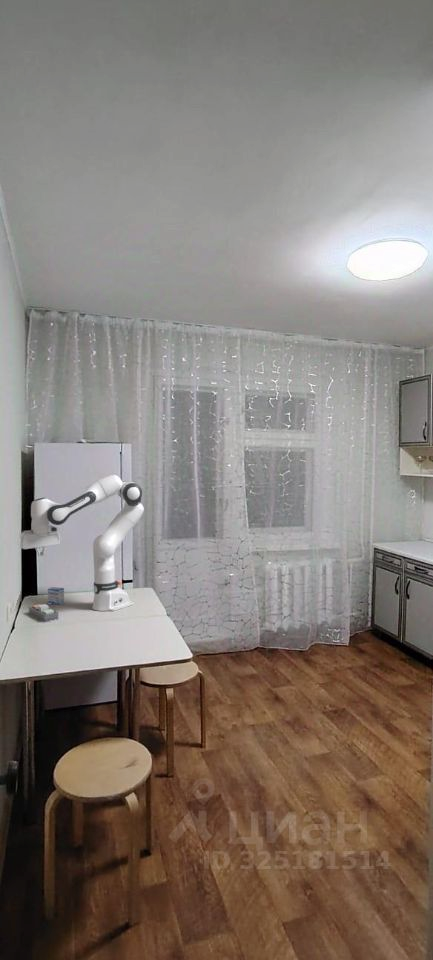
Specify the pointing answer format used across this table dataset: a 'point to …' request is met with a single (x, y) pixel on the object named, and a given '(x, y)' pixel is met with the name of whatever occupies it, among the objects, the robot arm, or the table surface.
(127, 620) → the table surface
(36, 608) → the terracotta key
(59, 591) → the medicine box
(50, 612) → the sage key
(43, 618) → the grey compartment tray
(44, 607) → the light grey square block
